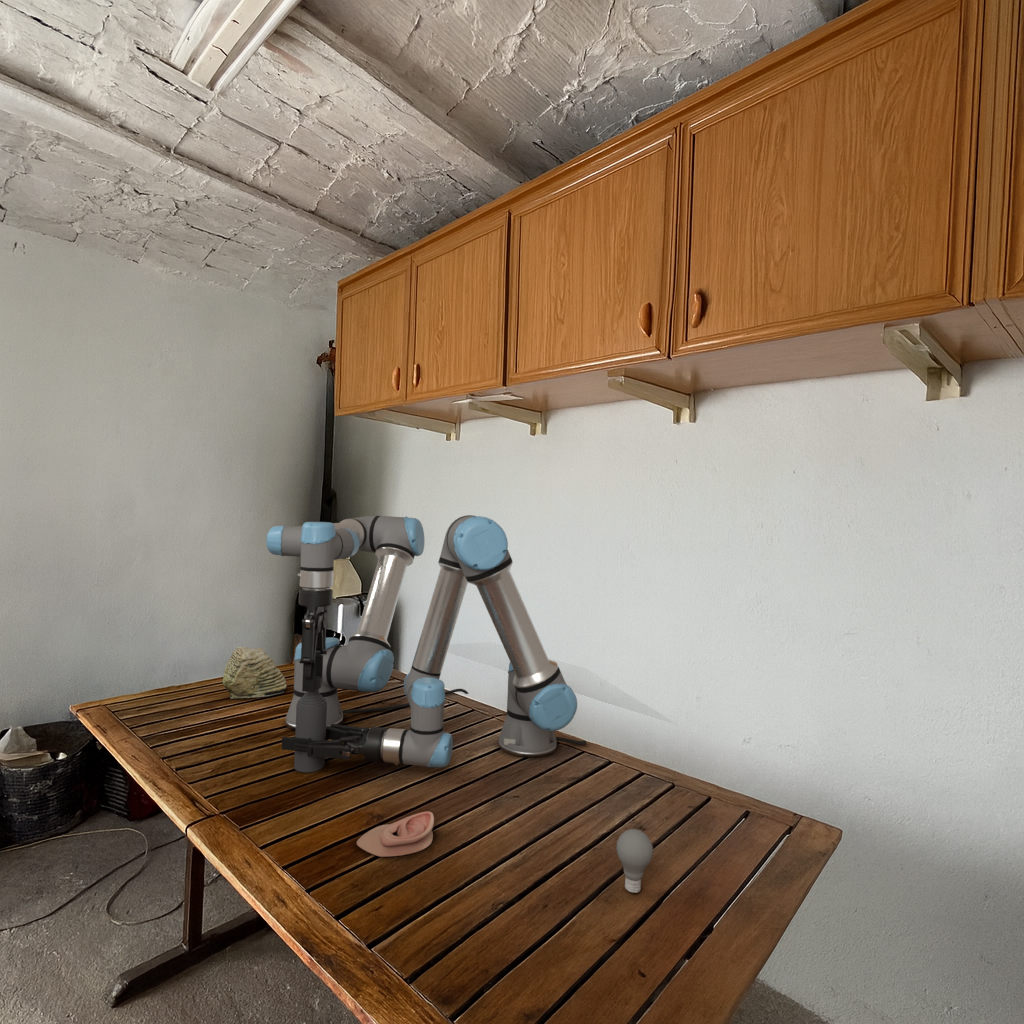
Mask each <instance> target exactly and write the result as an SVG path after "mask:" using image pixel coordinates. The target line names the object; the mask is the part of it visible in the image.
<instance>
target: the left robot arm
mask: <svg viewBox="0 0 1024 1024" xmlns="http://www.w3.org/2000/svg"><path fill="white" fill-rule="evenodd" d="M265 542H266V543H265V544H266V545H265V546H266V548H267V550H268V552H269V553H270V554H271V555H275V556H281V557H300V567H299V573H297V577H298V578H299V587H300V589H299V591H298V605H299V606H301V607H306V608H307V609H306V613H304V618H302V620H301V626H302V627H301V628H302V631H301V642H299V643H298V644H297V645H296V647H295V652H294V653H295V654H294V659H293V661H294V672H293V695H292V696H293V697H292V699H291V702H290V704H289V708H288V711H287V713H286V715H285V726H286V728H287V729H289V730H291V731H295V730H296V704H297V703H298V700H300V698H302V696H304V694H305V693H306V692H314V691H315V680H316V676H320V677H322V687H321V688H320V689H319V693H320V695H322V697H324V699H326V701H327V718H326V727H327V726H329V727H330V725H331V724H337V725H342V723H343V722H344V715H345V714H357V713H358V714H359V713H371V712H381V711H389V710H395V709H401V708H407V707H410V704H409V702H407V703H402V704H401V703H400V704H396V705H389V706H388V705H387V706H381V707H371V708H358V709H357V708H355V709H342V706H341V702H340V699H339V695H338V689H339V690H347V691H354V692H360V693H378V692H380V691H381V690H382V689H384V688H385V687H386V686H387V684H388V683H389V681H390V678H391V677H392V673H393V671H394V666H395V665H394V662H395V656H394V653H393V651H392V650H391V645H390V643H389V642H388V637H389V633H390V630H391V625H392V621H393V618H394V614H395V611H396V607H397V605H398V604H397V603H398V600H399V597H400V592H401V589H402V585H403V581H404V577H405V574H406V570H407V567H409V566H411V565H412V564H413V563H414V560H415V557H419V556H421V555H423V552H424V550H425V531H424V527H423V524H422V523H421V521H420V520H419V519H418V518H416V517H410V516H409V517H408V516H388V515H366V516H358V517H351V518H346V519H345V518H344V519H343V520H341V521H340V522H334V523H333V522H329V521H305V522H304V523H303V524H302V525H293V526H292V525H291V526H290V525H275V526H272V527H271V528H270V529H269V530H268V532H267V535H266V541H265ZM358 551H360V552H364V553H365V552H366V553H373V554H375V556H376V558H377V563H376V567H375V571H374V574H373V578H372V581H371V584H370V587H369V589H368V594H367V597H366V601H365V604H364V607H363V611H362V614H361V618H360V621H359V624H358V628H357V631H356V633H354V634H352V635H350V636H349V638H348V641H347V644H346V645H345V644H343V645H342V644H340V643H341V641H340V639H339V638H338V637H334V636H333V637H327V616H328V610H327V609H325V607H329V606H331V605H332V604H333V598H334V597H333V594H334V593H333V592H334V591H333V589H332V588H333V587H334V577H335V575H334V573H335V572H334V571H335V569H334V567H335V561H337V560H347V559H348V558H351V557H353V556H354V555H356V554H357V553H358ZM458 692H460V693H464V695H469V692H468V691H467V690H466V689H464V688H454V689H450V690H447V691H445V696H446V695H450V694H454V693H458Z"/></svg>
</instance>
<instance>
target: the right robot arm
mask: <svg viewBox="0 0 1024 1024" xmlns="http://www.w3.org/2000/svg"><path fill="white" fill-rule="evenodd" d="M441 547H442V548H441V551H440V555H439V559H438V565H439V567H440V570H439V573H438V576H437V580H436V583H435V587H434V590H433V593H432V595H431V600H430V603H429V607H428V610H427V612H426V616H425V620H424V624H423V627H422V630H421V633H420V636H419V641H418V642H417V643H418V644H417V646H416V651H415V653H414V656H413V660H412V663H411V667H410V671H409V672H408V673H407V675H405V678H404V681H403V692H404V694H405V696H406V699H407V702H408V703H409V704H410V706H409V708H410V727H409V729H405V728H393V727H390V728H388V729H387V728H386V727H379V726H378V727H377V726H372V727H369V726H367V727H363V726H362V727H359V726H351V725H343V724H340V725H337V724H331V725H330V727H329V726H327V727H326V740H323V741H311V738H309V739H305V738H295V736H294V737H292V736H282V737H281V750H282V751H293V752H295V751H303V752H307V757H319V758H325V759H341V760H346V761H349V760H352V756H353V755H355V756H356V755H363V756H364V759H365V760H366V761H367V762H372V763H382V762H384V763H386V764H394V766H398V765H408V766H418V767H425V768H446V767H447V766H449V764H450V762H451V760H452V755H453V747H454V741H453V735H452V734H451V733H448V732H445V731H444V718H445V717H444V715H445V700H446V695H445V692H446V691H445V690H446V685H445V682H444V681H443V680H442V679H440V678H441V675H442V671H443V668H444V663H445V661H446V658H447V654H448V650H449V647H450V643H451V641H452V637H453V634H454V631H455V628H456V625H457V620H458V617H459V613H460V610H461V607H462V605H463V600H464V598H465V594H466V591H467V587H468V584H471V585H474V586H476V588H477V590H478V593H479V595H480V597H481V599H482V601H483V604H484V606H485V609H486V611H487V613H488V615H489V617H490V619H491V622H492V624H493V627H494V629H495V631H496V633H497V635H498V638H499V640H500V642H501V644H502V646H503V650H504V652H505V654H506V655H507V657H508V660H509V663H508V670H507V674H508V675H507V695H506V696H507V697H506V699H507V700H506V717H505V719H504V722H503V725H502V727H501V730H500V732H499V734H498V735H499V737H498V743H497V745H498V748H499V749H500V750H501V751H503V752H504V753H506V754H509V755H512V756H515V757H520V758H542V757H547V756H549V755H552V754H554V753H555V752H556V751H557V747H558V745H557V744H558V742H563V743H567V744H572V745H577V746H586V745H587V740H575V739H572V738H571V739H570V738H566V737H559V736H556V731H560V730H562V729H563V728H566V727H567V726H568V725H569V724H570V723H572V721H573V719H574V718H575V715H576V713H577V710H578V698H577V695H576V694H575V692H574V690H573V689H572V687H571V686H569V685H568V684H567V682H566V680H565V678H564V675H563V673H562V671H561V669H560V667H559V664H558V662H557V661H555V660H552V659H550V658H548V655H547V653H546V650H545V648H544V645H543V643H542V641H541V639H540V636H539V635H538V632H537V630H536V628H535V624H534V622H533V621H532V618H531V616H530V614H529V612H528V609H527V607H526V605H525V602H524V600H523V597H522V596H521V592H520V591H519V588H518V585H517V584H516V582H515V579H514V577H513V575H512V572H511V568H512V566H513V563H514V560H513V558H512V556H511V554H510V551H509V549H508V547H509V541H508V536H507V535H506V532H505V531H504V529H503V528H502V526H500V524H498V523H497V522H496V521H494V520H493V519H491V518H489V517H486V516H480V515H471V514H467V515H462V516H460V517H457V518H456V519H455V520H453V521H452V522H451V523H450V525H449V526H448V527H447V530H446V532H445V536H444V539H443V543H442V546H441Z"/></svg>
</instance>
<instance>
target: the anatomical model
mask: <svg viewBox="0 0 1024 1024" xmlns="http://www.w3.org/2000/svg"><path fill="white" fill-rule="evenodd" d="M434 826H435V815H434V814H433V812H431V811H422V812H418V813H415V814H411V815H409V816H406V817H404V818H402V819H399V820H397V821H395V822H392V823H389V824H388V823H387V824H382V825H378V826H376V827H374V828H372V829H370V830H368V831H367V832H365V833H364V834H363V835H361V836H360V837H359V838H358V839H357V841H356V845H357V847H359V848H360V849H362V850H363V851H365V852H366V853H369V854H371V855H373V856H375V857H376V856H377V857H380V858H385V857H386V858H387V857H397V856H405V855H410V854H414V853H418V852H420V851H423V850H425V849H427V848H428V847H430V845H431V844H432V842H433V838H434V834H433V829H434Z"/></svg>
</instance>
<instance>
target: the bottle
mask: <svg viewBox="0 0 1024 1024" xmlns="http://www.w3.org/2000/svg"><path fill="white" fill-rule="evenodd" d="M326 718H327V701H326V699H324V697H322V695H320V693H319V689H316V690H315V691H314V692H306V693H305V694H304V696H302V698H300V700H298V703H297V704H296V730H294V733H295V734H294V738H305V739H309V738H311V741H323V740H326ZM293 758H294V762H293V768H294V770H295V771H297V772H300V773H315V772H318V771H320V770H323V769H324V767H325V766H326V758H319V757H307V752H303V751H294V757H293Z"/></svg>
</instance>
